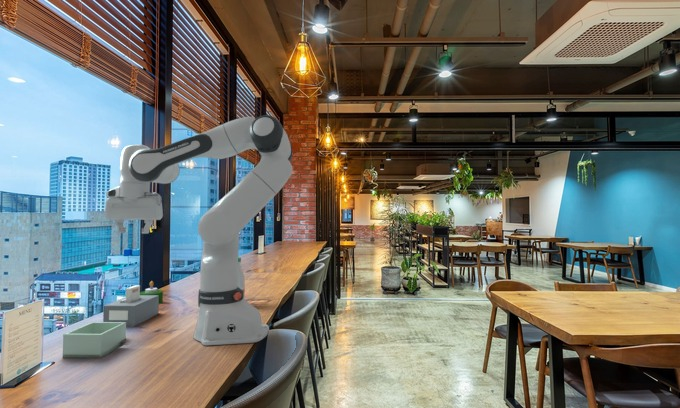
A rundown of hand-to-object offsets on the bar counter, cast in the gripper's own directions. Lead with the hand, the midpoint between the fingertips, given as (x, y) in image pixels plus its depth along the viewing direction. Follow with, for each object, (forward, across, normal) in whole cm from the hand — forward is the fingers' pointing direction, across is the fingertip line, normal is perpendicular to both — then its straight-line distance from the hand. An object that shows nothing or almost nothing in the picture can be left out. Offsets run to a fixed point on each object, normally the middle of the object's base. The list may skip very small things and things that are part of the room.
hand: (133, 233), depth 114 cm
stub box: (+31, -8, +20) cm, 38 cm away
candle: (+31, +12, -22) cm, 40 cm away
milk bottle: (+31, -23, -27) cm, 47 cm away
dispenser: (+31, 0, -1) cm, 31 cm away
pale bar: (+29, 0, -1) cm, 29 cm away
